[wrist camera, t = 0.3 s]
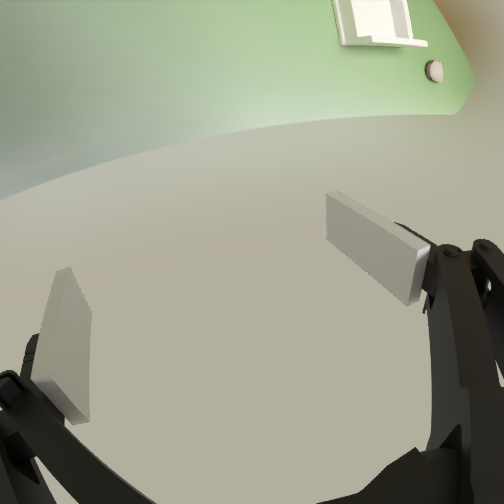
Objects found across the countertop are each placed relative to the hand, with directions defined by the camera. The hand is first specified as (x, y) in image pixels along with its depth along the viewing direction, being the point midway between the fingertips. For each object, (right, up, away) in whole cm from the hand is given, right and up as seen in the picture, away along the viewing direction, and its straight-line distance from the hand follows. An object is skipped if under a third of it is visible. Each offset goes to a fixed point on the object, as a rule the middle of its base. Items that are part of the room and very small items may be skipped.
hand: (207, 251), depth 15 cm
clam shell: (+35, +34, +31) cm, 58 cm away
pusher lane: (+19, +42, +19) cm, 50 cm away
